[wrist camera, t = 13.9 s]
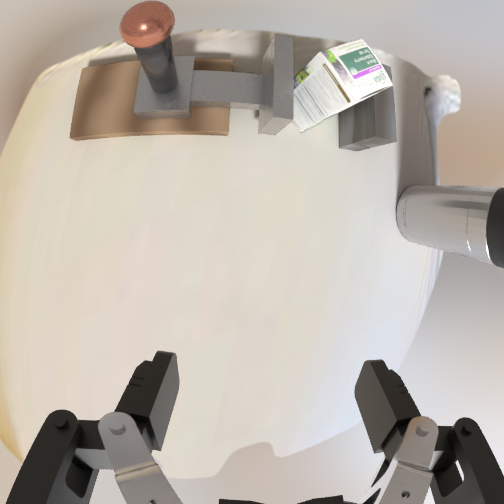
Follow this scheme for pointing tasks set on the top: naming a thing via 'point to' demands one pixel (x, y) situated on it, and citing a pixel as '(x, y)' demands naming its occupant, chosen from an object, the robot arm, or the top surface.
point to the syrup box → (336, 82)
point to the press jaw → (204, 74)
